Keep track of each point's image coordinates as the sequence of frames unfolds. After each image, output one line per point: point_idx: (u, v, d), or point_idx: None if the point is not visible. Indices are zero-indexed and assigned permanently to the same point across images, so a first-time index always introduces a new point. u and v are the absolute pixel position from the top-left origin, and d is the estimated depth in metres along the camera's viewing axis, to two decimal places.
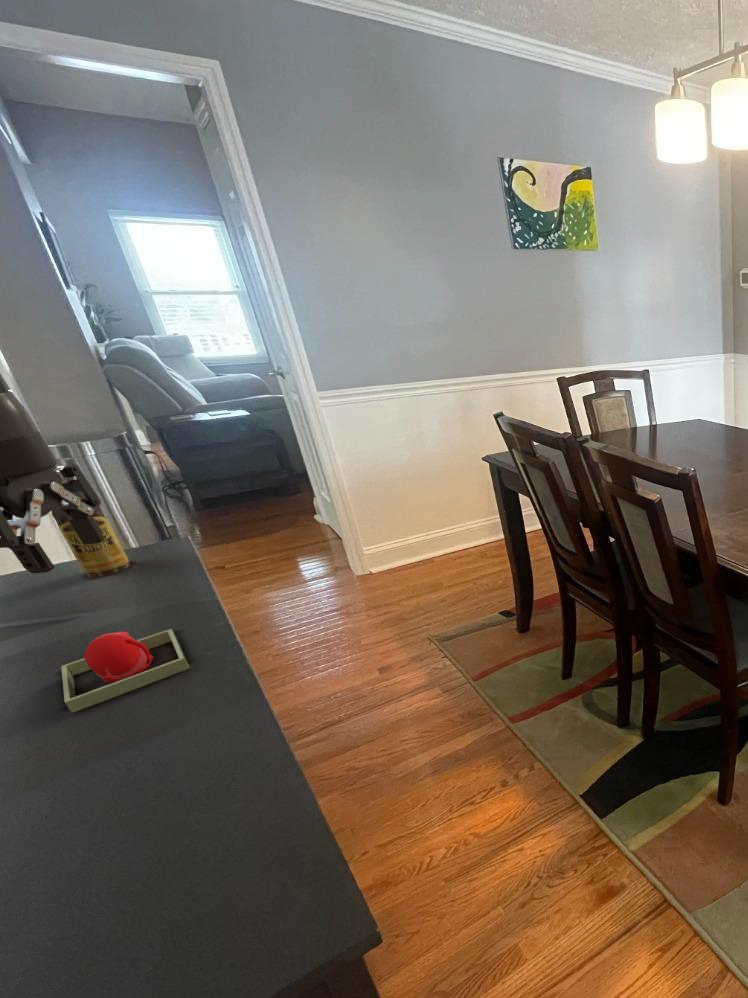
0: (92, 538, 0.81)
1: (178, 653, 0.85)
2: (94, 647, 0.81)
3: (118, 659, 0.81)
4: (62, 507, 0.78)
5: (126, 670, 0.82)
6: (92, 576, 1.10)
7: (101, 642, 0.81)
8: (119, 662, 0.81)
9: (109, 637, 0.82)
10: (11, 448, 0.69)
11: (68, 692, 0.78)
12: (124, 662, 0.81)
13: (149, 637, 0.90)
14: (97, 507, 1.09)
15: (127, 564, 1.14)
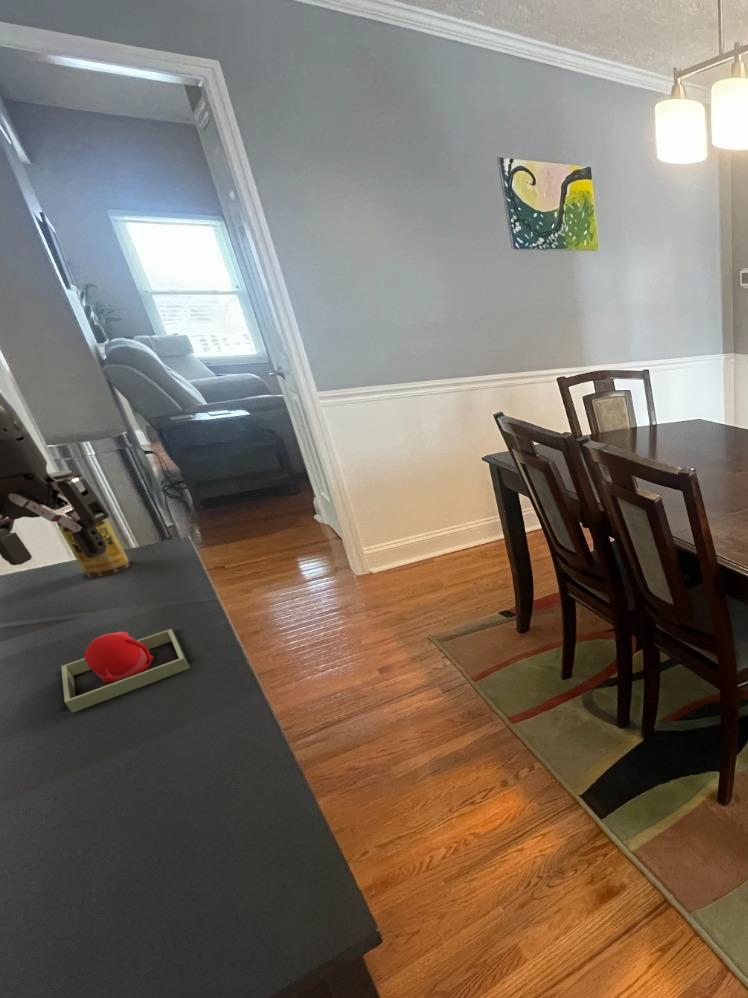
0: (24, 556, 0.76)
1: (178, 653, 0.85)
2: (94, 647, 0.81)
3: (118, 659, 0.81)
4: (5, 520, 0.74)
5: (126, 670, 0.82)
6: (92, 576, 1.10)
7: (101, 642, 0.81)
8: (119, 663, 0.81)
9: (109, 637, 0.82)
10: None
11: (68, 692, 0.78)
12: (124, 662, 0.81)
13: (149, 637, 0.90)
14: None
15: (127, 564, 1.14)
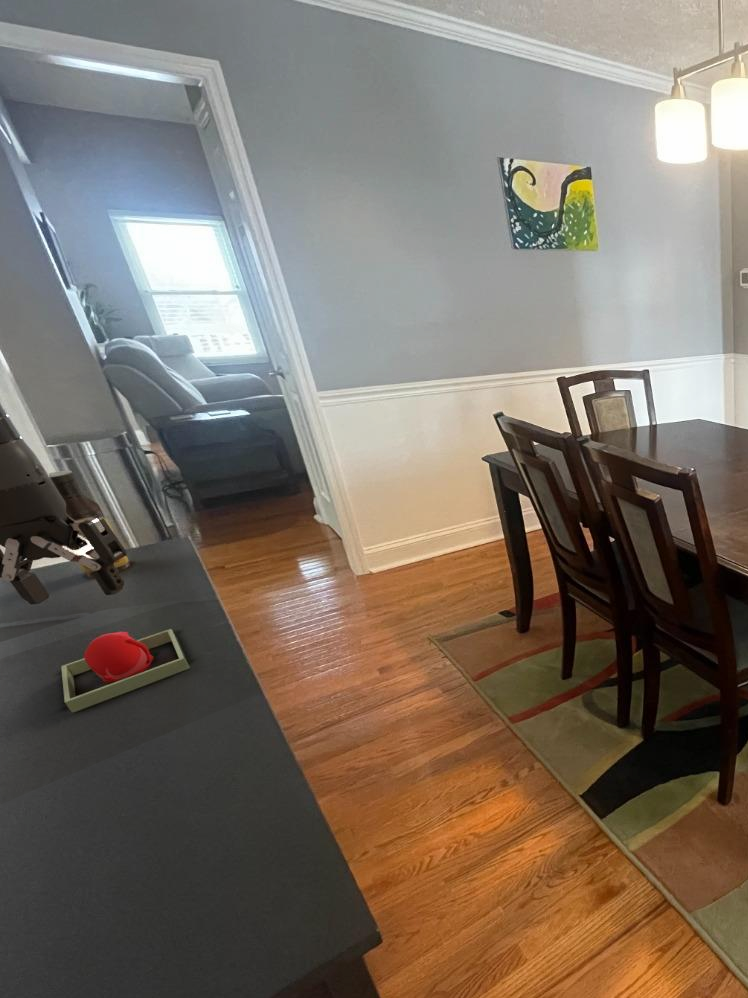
0: (42, 594, 0.78)
1: (178, 653, 0.85)
2: (94, 647, 0.81)
3: (118, 659, 0.81)
4: (25, 561, 0.76)
5: (126, 670, 0.82)
6: (92, 576, 1.10)
7: (101, 642, 0.81)
8: (119, 662, 0.81)
9: (109, 637, 0.82)
10: None
11: (68, 692, 0.78)
12: (124, 662, 0.81)
13: (149, 637, 0.90)
14: (97, 507, 1.09)
15: (127, 564, 1.14)
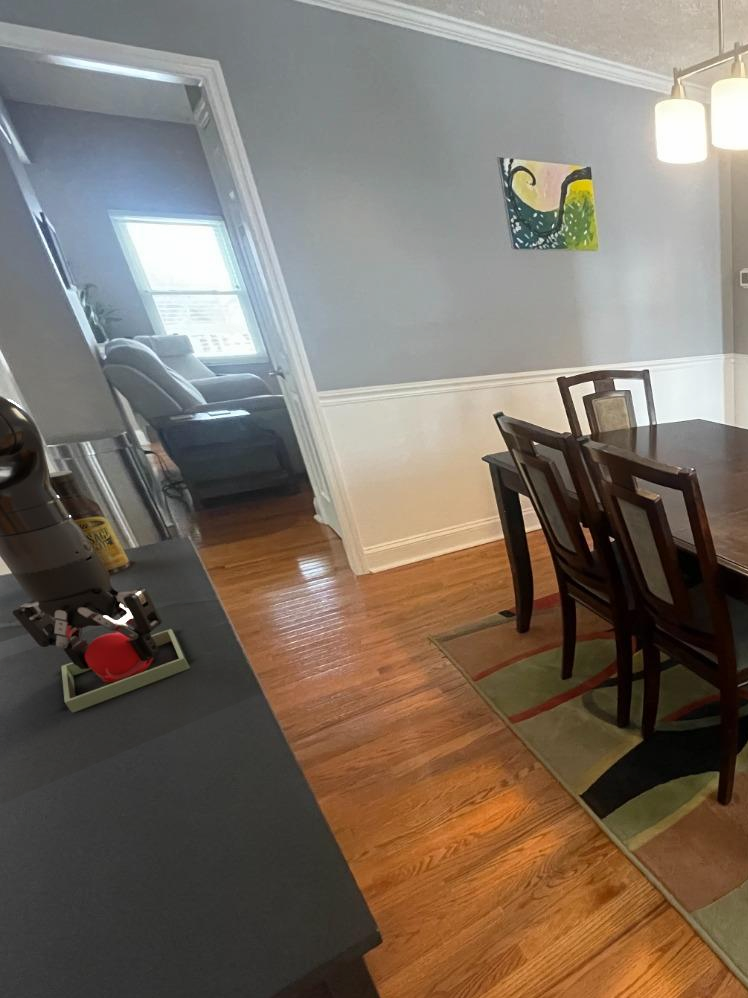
0: None
1: (178, 653, 0.85)
2: (94, 647, 0.81)
3: (118, 659, 0.81)
4: (75, 629, 0.81)
5: (126, 670, 0.82)
6: None
7: (101, 642, 0.81)
8: (119, 662, 0.81)
9: (109, 637, 0.82)
10: None
11: (68, 692, 0.78)
12: (124, 662, 0.81)
13: None
14: (97, 507, 1.09)
15: (127, 564, 1.14)
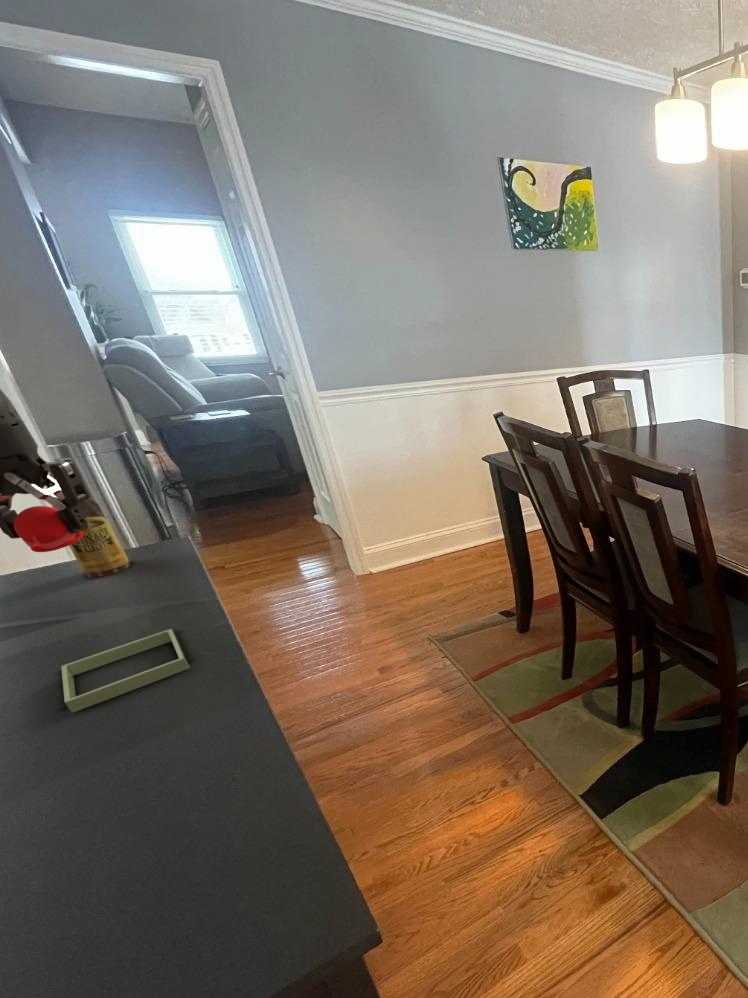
0: None
1: (178, 653, 0.85)
2: (22, 515, 0.84)
3: (45, 527, 0.84)
4: (4, 497, 0.84)
5: (53, 540, 0.85)
6: (92, 576, 1.10)
7: (29, 512, 0.85)
8: (46, 531, 0.84)
9: (38, 508, 0.85)
10: None
11: (68, 692, 0.78)
12: (51, 531, 0.85)
13: (149, 637, 0.90)
14: (97, 507, 1.09)
15: (127, 564, 1.14)
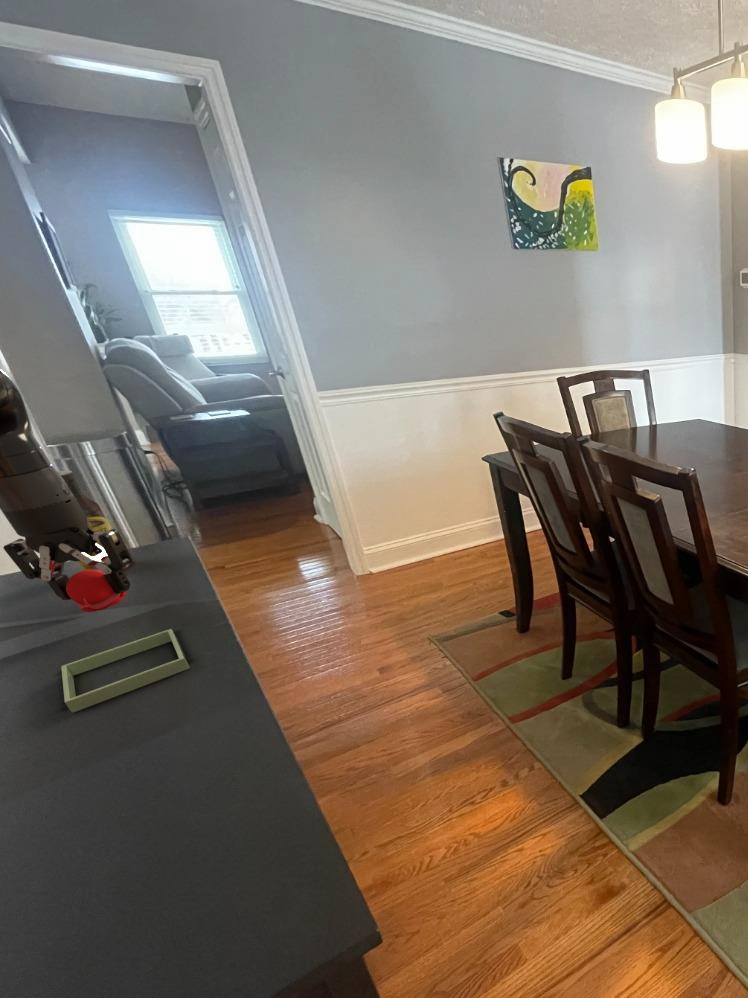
0: None
1: (178, 653, 0.85)
2: (73, 580, 0.94)
3: (94, 590, 0.94)
4: (57, 564, 0.94)
5: (101, 601, 0.95)
6: None
7: (79, 576, 0.94)
8: (95, 593, 0.94)
9: (87, 572, 0.95)
10: None
11: (68, 692, 0.78)
12: (99, 593, 0.94)
13: (149, 637, 0.90)
14: (97, 507, 1.09)
15: (127, 564, 1.14)
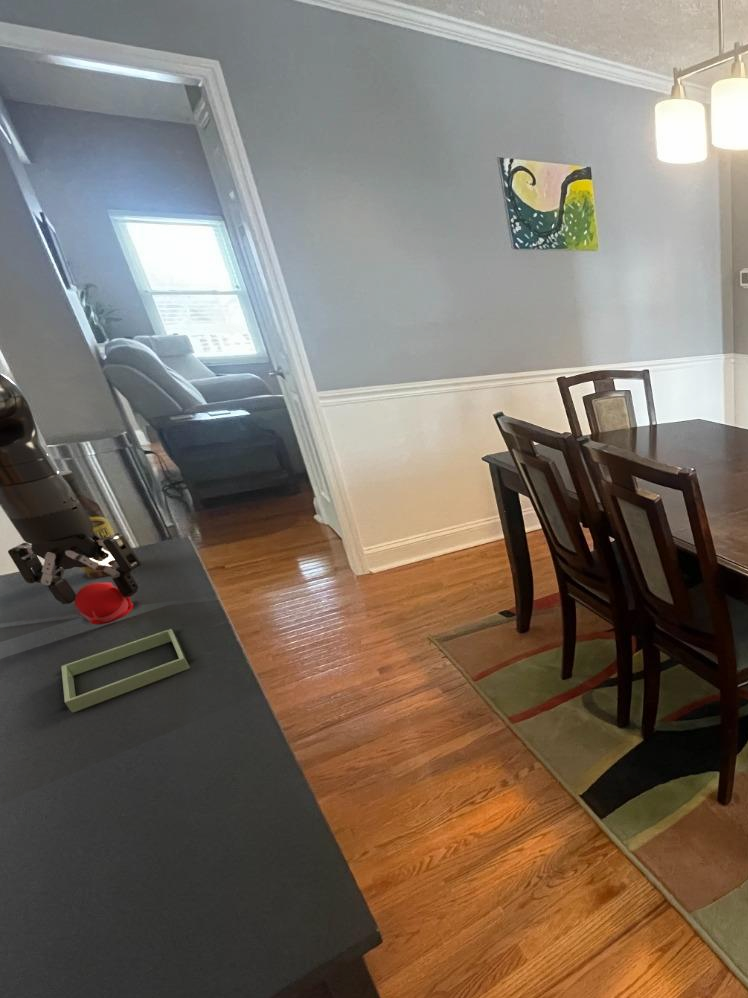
0: (71, 596, 0.97)
1: (178, 653, 0.85)
2: (82, 593, 0.95)
3: (103, 603, 0.95)
4: (59, 570, 0.94)
5: (110, 613, 0.96)
6: (92, 576, 1.10)
7: (88, 589, 0.95)
8: (103, 606, 0.95)
9: (95, 585, 0.96)
10: None
11: (68, 692, 0.78)
12: (108, 606, 0.95)
13: (149, 637, 0.90)
14: (97, 507, 1.09)
15: None
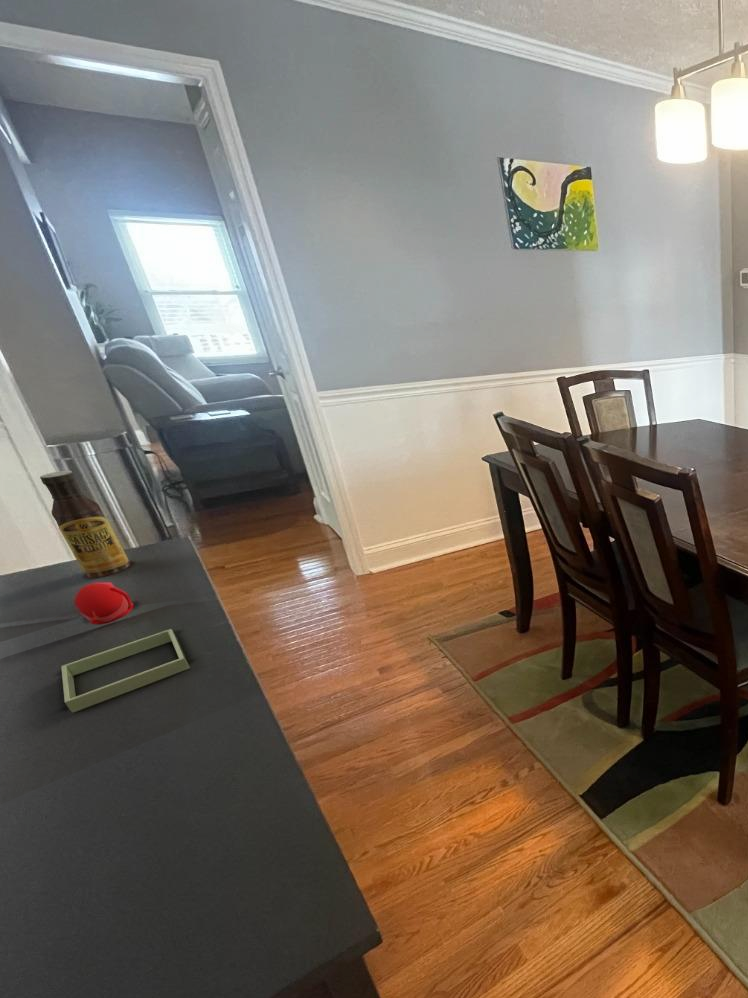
0: None
1: (178, 653, 0.85)
2: (82, 593, 0.95)
3: (103, 603, 0.95)
4: None
5: (110, 613, 0.96)
6: (92, 576, 1.10)
7: (88, 589, 0.95)
8: (103, 606, 0.95)
9: (95, 585, 0.96)
10: None
11: (68, 692, 0.78)
12: (108, 606, 0.95)
13: (149, 637, 0.90)
14: (97, 507, 1.09)
15: (127, 564, 1.14)
